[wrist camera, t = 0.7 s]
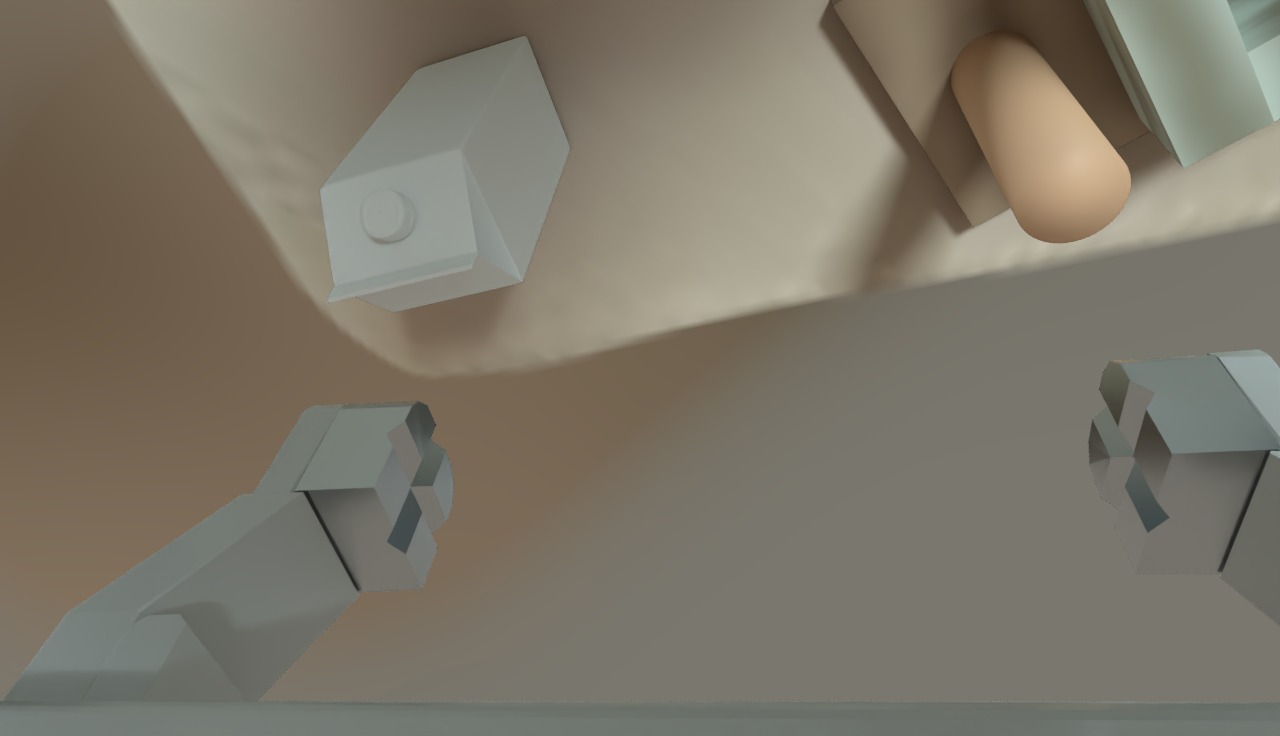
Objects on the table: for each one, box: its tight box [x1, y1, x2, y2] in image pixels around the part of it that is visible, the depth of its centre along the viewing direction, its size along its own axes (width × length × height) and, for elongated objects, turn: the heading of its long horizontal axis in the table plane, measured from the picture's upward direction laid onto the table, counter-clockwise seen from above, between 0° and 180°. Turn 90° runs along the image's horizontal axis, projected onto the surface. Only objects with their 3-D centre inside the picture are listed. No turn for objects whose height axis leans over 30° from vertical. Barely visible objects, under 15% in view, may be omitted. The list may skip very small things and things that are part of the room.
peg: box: [951, 30, 1131, 243], centre depth 41 cm, size 4×4×14 cm
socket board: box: [831, 0, 1280, 228], centre depth 41 cm, size 24×16×8 cm, turn 129°
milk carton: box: [320, 36, 570, 312], centre depth 44 cm, size 7×7×19 cm
